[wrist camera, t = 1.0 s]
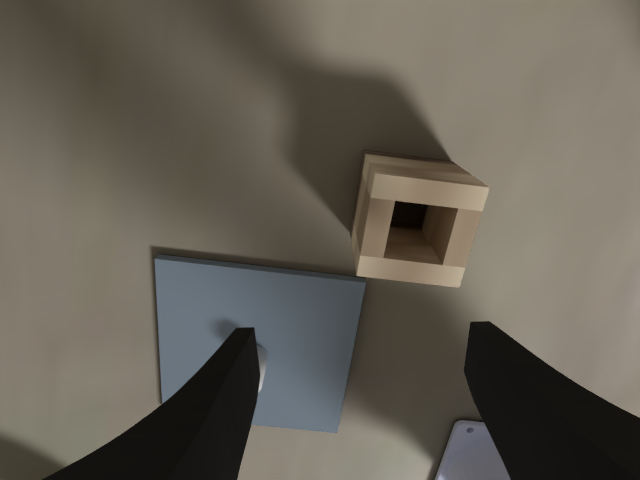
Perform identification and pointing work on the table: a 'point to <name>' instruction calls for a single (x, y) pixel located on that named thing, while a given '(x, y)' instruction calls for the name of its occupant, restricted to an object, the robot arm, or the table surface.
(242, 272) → the pin plate
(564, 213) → the table surface
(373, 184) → the sleeve
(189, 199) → the table surface
